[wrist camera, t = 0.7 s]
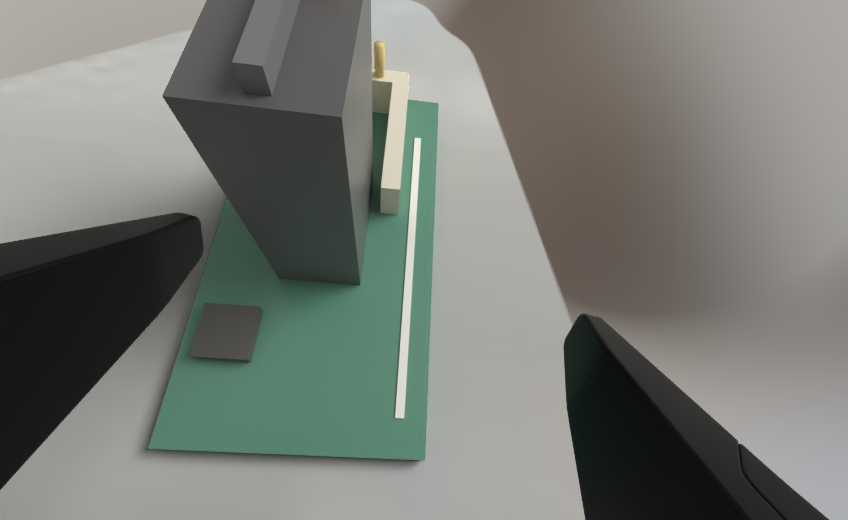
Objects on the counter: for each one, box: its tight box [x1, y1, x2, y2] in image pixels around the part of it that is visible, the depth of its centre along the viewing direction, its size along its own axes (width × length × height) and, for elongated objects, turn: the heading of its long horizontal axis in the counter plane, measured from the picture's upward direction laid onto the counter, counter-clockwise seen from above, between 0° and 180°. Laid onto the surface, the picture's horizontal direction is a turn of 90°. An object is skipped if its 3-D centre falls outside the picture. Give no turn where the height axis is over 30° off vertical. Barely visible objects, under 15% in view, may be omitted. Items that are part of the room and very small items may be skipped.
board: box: [148, 41, 438, 460], centre depth 23 cm, size 26×14×6 cm, turn 177°
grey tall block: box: [163, 0, 373, 285], centre depth 18 cm, size 8×5×15 cm, turn 177°
